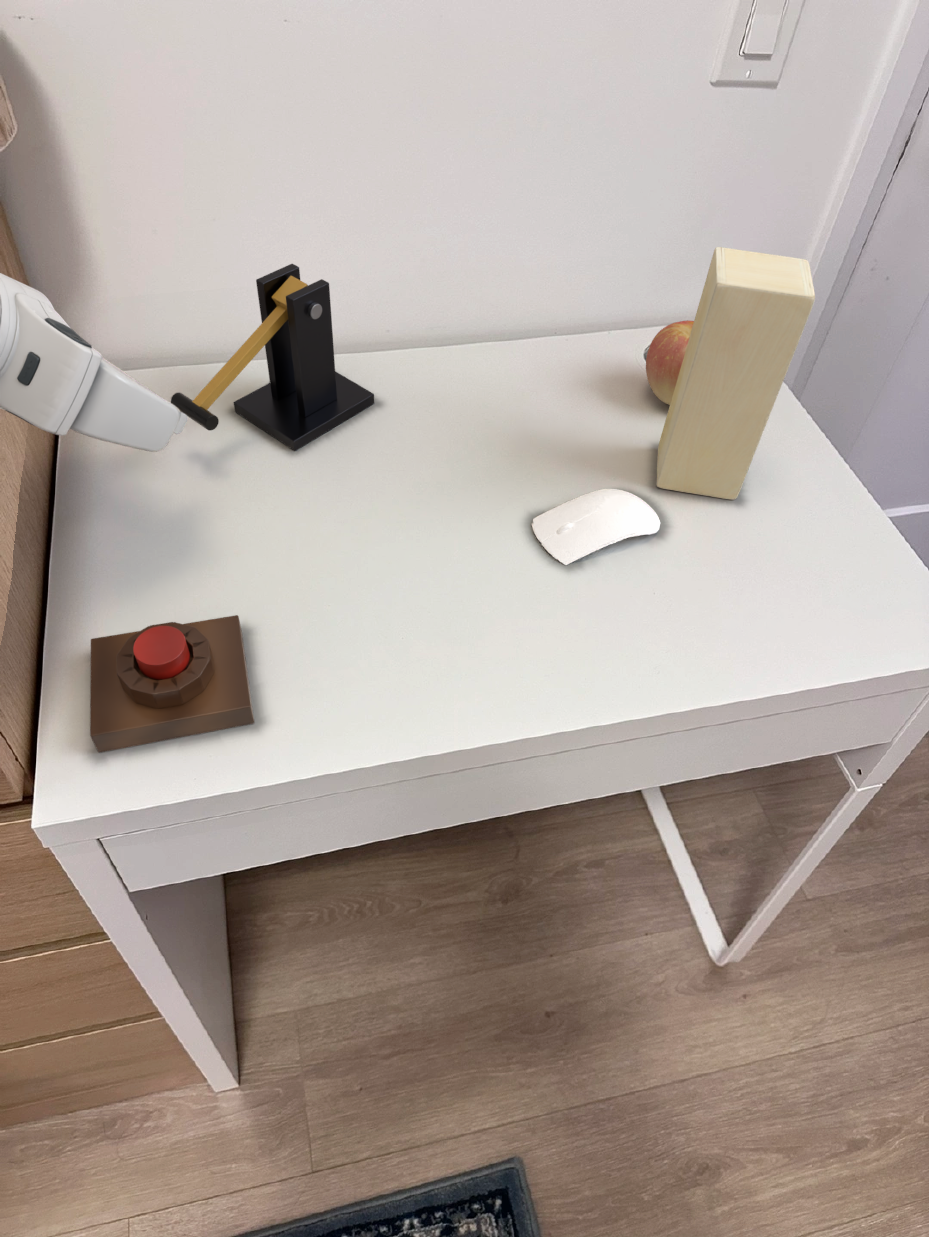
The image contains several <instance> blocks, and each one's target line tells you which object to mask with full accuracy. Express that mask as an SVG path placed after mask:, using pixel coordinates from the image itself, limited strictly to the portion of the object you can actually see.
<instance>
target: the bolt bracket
mask: <svg viewBox="0 0 929 1237" xmlns="http://www.w3.org/2000/svg"><path fill="white" fill-rule="evenodd" d="M290 276H293V277H295V278H297V279H298V280H300V281H301V270H300V266H298V265H296V264H294V263H290V264H288V265H285V266H283V267H281V268H279V269H276V270H274V271H272V272H270V273H267V274H265V275H263V276H261V277H259V278H256V279H255V283H256V290H257V297H258V304H259V312H260V319H261V324H262V323H263V322H264V320H265V319H266V318H267V317H268V316H269V315H270V314H271V313H272V312H273V310H274V309H275V308H276V307H277V305H276V304H275V302H274V300H273V299H272V296H273V295H274V294H275V293H276V291H277V290H278V289H279V288H280V287H281V286H282V285H283V284H284V283H285V281H286V280H287V279H288V278H289V277H290ZM307 285H308V286H306V287H304V288H302V289H300V290H298V291H296V292H293V293H291V294H289V295H287V296H286V304H287V313H288V320H287V321H286V322H285V323H284V324H283V325H282V326H281V328H280V329H279V330H278V331H277V332H276V333H275V334H274V335H273V337H272V338H271V339H270V340H269V341H268V342H267V343H266V344H265V346H264V350H265V356H266V364H267V371H268V378H269V382H268V383H267V384H265V385H263V386H261V387H259V388H257V389H255V390H253V391H251V392H250V393H248V394H246V395H244V396H242V397H240V398H239V399H237V400H235V401H233V408H234V412H235V414H238V415H239V416H241V417H242V418H244V419H245V420H247V421H249V422H250V423H251V424H252V425H255V426H256V427H258V428H259V429H261V430H262V431H263V432H265V433H267V434H268V435H270V436H271V437H273V438H274V439H275V440H277V441H279V442H280V443H282V444H283V445H284V446H286V447H288V448H289V449H291V450H293V451H295V452H296V451H297V450H299V449H301V448H302V447H304V446H306V445H308V444H309V443H311V442H312V441H314V440H316V439H318V438H320V437H321V436H323V435H324V434H326V433H327V432H328V433H329V431H331V430H332V429H334V428H336V427H338V426H339V425H341V424H343V423H344V422H346V421H348V420H349V419H351V418H353V417H354V416H356V415H358V414H359V413H361V412H363V411H364V410H366V409H368V408H369V407H371V406H373V405H375V393H373V392H372V391H369V389H367V388H365V387H363V386H361V385H360V384H358V383H356V382H354V381H353V380H351V379H349V378H348V377H346V376H344V375H343V374H341V373H339V372H337V371H336V363H335V362H336V361H335V349H334V335H333V320H332V306H331V305H332V304H331V290H330V289H331V288H330V283H329V282H328V281H326V280H324V278H323V279H322V278H321V279H318V280H316V281H315V282H312V283H310V284H307Z"/></svg>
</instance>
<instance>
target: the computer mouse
mask: <svg viewBox="0 0 929 1237" xmlns="http://www.w3.org/2000/svg"><path fill="white" fill-rule="evenodd" d="M531 526H532V531H533V534H534V535H535V537H536V538H537V540H538V542H540V543H541V546H542V547H543V548H544V550H546V552H548V554H550V555H551V556H552V557H553V558H554V559H555V560H558V561H559V563H561V564H563V565H564V566H567V565H569V564H571V563H573V562H576V561H577V560H581V558H583V557H586V556H588V555H590V554H592V553H594V552H597V551H598V550H601V549H602V548H603V549H604V548H605V547H607V546H609V545H613V544H615V543H618V542H621V541H623V540H625V539H627V538H628V539H629V538H632V537H639V536H645V535H649V536H650V535H654V534H656V533H658V532H659V531H660V528H661V520H660V517H659V515H658V514H657V512H656V511H655V510H654V509H653V507H651V505H649V503H647V502H646V501H645V500H643V499H642V498H641V497H639V496H637V495H635V494H634V493H631V492H630V491H629V492H628V491H627V490H622V489H618V488H601V489H597V490H594V491H590V492H588V493H585V494H582V495H579V496H577V497H576V498H572V499H570V500H568V501H565V502H563V503H561V504H559V505H557V506H555V507H553V508H551V509H549V510H547V511H544V512H542V513H541V514H539V515H537V516H536V517H533V519H532V523H531Z"/></svg>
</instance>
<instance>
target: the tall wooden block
mask: <svg viewBox="0 0 929 1237" xmlns="http://www.w3.org/2000/svg"><path fill="white" fill-rule="evenodd" d="M811 270H812V269H811V266H810V261H809V260H807V259H804V258H799V257H792V256H787V255H786V256H785V255H780V254H779V255H778V254H771V253H764V252H763V253H762V252H757V251H750V250H743V249H737V248H729V247H724V246H723V247H721V246H716V247H715V248H714V250H713V252H712V257H711V260H710V264H709V269H708V271H707V274H706V278H705V282H704V285H703V288H702V292H701V296H700V299H699V303H698V305H697V309H696V313H695V317H694V320H693V321H694V323H693V327H692V330H691V334H690V337H689V341H688V344H687V348H686V351H685V355H684V359H683V362H682V365H681V369H680V372H679V376H678V379H677V383H676V386H675V390H674V393H673V396H672V400H671V404H670V405H669V408H668V411H667V414H666V418H665V422H664V425H663V428H662V430H661V431H662V432H661V434H660V438H659V442H658V446H657V458H656V459H657V461H656V487H657V488H660V489H664V490H671V491H675V492H682V493H688V494H694V495H699V496H700V495H701V496H707V497H713V498H719V499H723V500H736V499H738V497H739V494H740V492H741V490H742V487H743V484H744V482H745V480H746V477H747V474H748V471H749V469H750V467H751V465H752V461H753V459H754V456H755V454H756V451H757V449H758V447H759V444H760V441H761V439H762V436H763V434H764V431H765V429H766V427H767V424H768V421H769V418H770V416H771V413H772V411H773V408H774V406H775V403H776V401H777V398H778V396H779V393H780V390H781V388H782V385H783V383H784V380H785V378H786V377H787V376H786V375H787V373H788V371H789V368H790V365H791V363H792V360H793V358H794V356H795V353H796V350H797V348H798V345H799V343H800V340H801V338H802V335H803V332H804V330H805V327H806V324H807V322H808V320H809V317H810V315H811V312H812V309H813V307H814V304H815V300H816V293H815V287H814V282H813V276H812V271H811Z"/></svg>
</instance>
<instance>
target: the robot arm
mask: <svg viewBox="0 0 929 1237" xmlns="http://www.w3.org/2000/svg"><path fill="white" fill-rule="evenodd" d="M0 410H3V411H5V412H7V413H9V414H11V415H13V416H14V417H16V418H19V419H21V420H22V421H24V422H25V423H28V424H30V425H31V426H33V427H36V428H38V429H40V430H42V431H43V432H46V433H49V434H53V435H56V436H61V437H63V436H64V437H65V436H67V434H68V432H69V430H72V431H74V432H77V433H78V434H81V435H83V436H86V437H89V438H93V439H96V440H99V441H103V442H106V443H111V444H114V445H119V446H122V447H125V448H126V447H127V448H130V449H135V450H139V451H140V450H141V451H144V452H150V453H157V452H160V451H161V452H162V450H164V449H165V448H167V446H168V445H169V443H170V440H171V439H172V437H173V435H174V434H175V435H179V434H181V433H182V432H183V430H184V429H185V426H186V424H187V422H188V419H189V417H188V416H187V415H186V414H184V413H183V412H181V411H180V410H179V409H178V408H177V407H176V406H175V405H173V404H172V403H171V401H169V400H167V399H165V398H164V397H162V396H161V395H159V394H158V393H156V392H155V391H153V390H152V389H150V387H148V386H146V385H145V384H143V383H142V382H140V381H138V380H137V379H136V378H134V377H132V376H131V375H130V374H128V373H126V372H125V371H124V370H122V369H121V368H119V367H118V366H116V365H115V364H114V363H113V362H111V361H109V360H108V359H106V358H104V357H103V355H102V354H101V353H100V351H98V350H97V349H95V348H94V347H93V345H92V344H90V343H89V342H88V341H86V340H85V339H84V338H83V337H82V336H80V335H79V334H78V333H77V332H76V331H75V330H74V329H72V328H71V326H70V325H69V324H68V323H67V321H65V320H64V318H63V317H62V316H61V315H60V314H59V313H58V311H57V310H55V308H54V306H53V304H52V302H51V300H50V299H49V298H48V297H47V296H46V295H45V294H44V293H43V292H41V291H40V290H38V289H36V288H34V287H32V286H30V285H27V284H25V283H23V282H21V281H18V280H16V279H14V278H13V277H10V276H8V275H6V274H4V273H1V272H0Z"/></svg>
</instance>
